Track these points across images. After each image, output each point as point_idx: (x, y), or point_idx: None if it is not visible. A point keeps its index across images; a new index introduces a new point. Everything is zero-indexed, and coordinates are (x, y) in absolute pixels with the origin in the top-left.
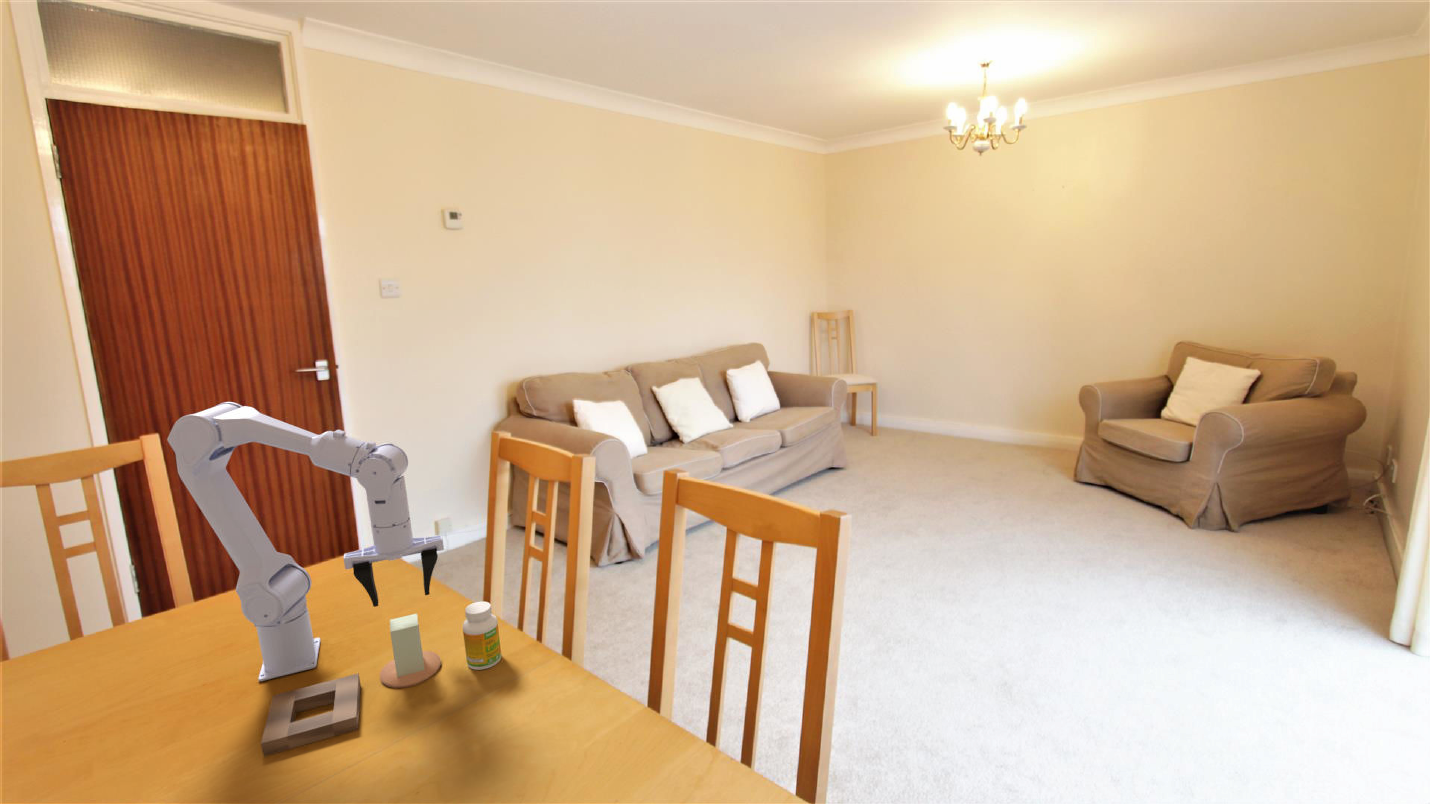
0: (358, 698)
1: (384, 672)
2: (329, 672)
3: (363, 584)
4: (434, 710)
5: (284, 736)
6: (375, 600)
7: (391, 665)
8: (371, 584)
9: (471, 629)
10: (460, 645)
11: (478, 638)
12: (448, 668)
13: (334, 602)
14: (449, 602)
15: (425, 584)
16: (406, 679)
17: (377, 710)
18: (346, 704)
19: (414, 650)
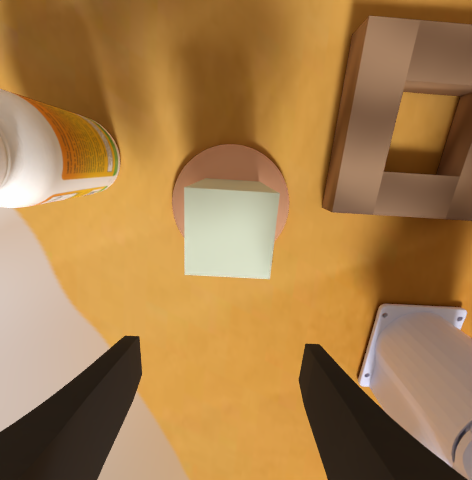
0: (340, 133)
1: (279, 215)
2: (361, 279)
3: (437, 462)
4: (198, 7)
5: None
6: (322, 360)
7: None
8: (381, 446)
9: (11, 101)
10: (134, 245)
11: (20, 95)
12: (160, 171)
13: (320, 469)
14: (148, 395)
15: (103, 370)
16: (243, 162)
17: (307, 89)
18: (376, 92)
19: (215, 182)
